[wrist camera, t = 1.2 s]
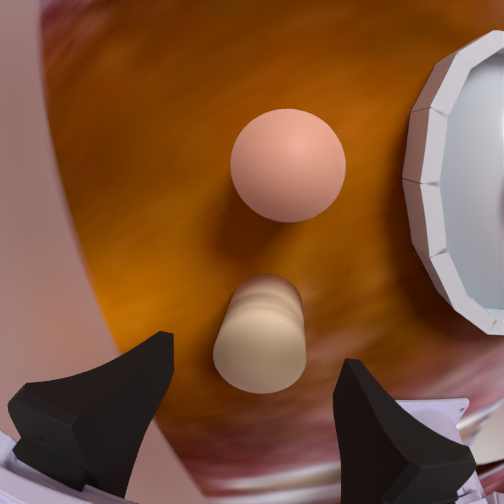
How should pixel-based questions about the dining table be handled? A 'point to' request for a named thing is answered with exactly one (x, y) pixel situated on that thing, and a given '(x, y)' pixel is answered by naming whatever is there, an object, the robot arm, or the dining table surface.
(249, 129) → the ball
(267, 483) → the dining table surface
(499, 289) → the groove tray
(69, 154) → the dining table surface
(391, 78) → the dining table surface
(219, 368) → the maple bead
